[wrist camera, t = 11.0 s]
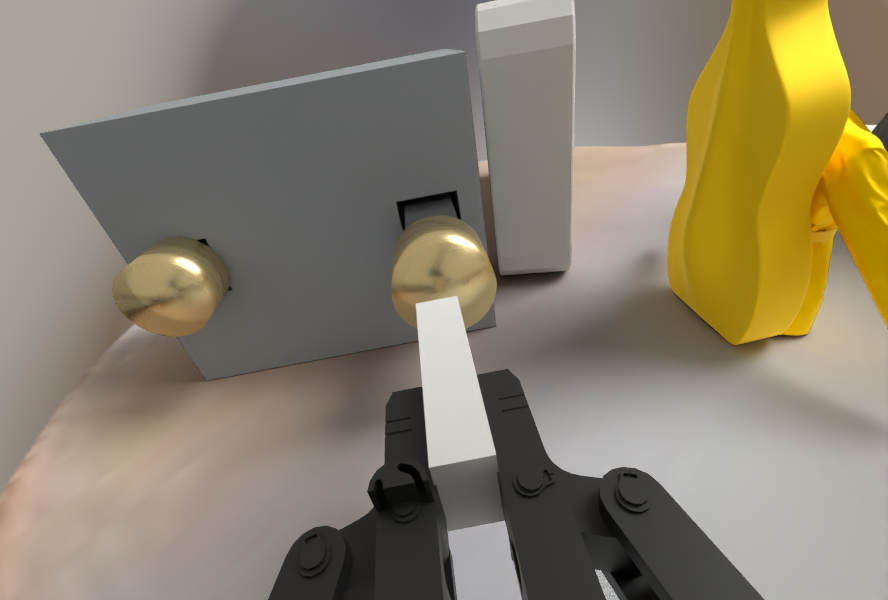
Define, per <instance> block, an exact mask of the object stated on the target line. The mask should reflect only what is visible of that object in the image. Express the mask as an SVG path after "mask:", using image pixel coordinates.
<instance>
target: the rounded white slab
mask: <svg viewBox="0 0 888 600" xmlns="http://www.w3.org/2000/svg"><path fill="white" fill-rule="evenodd" d="M475 25H476V42H477V53H478V65H479V75H480V85H481V96H482V104H483V105H482V106H483V115H484V126H485V136H486V147H487V157H488V167H489V178H490V188H491V198H492V208H493V219H494V229H495V239H496V249H497V259H498V267H499V272H500V275H515V274H528V273H541V272H554V271H567V270H568V269H569V268H570V265H571V257H572V222H573V165H574V109H575V106H574V105H575V53H576V39H575V37H576V36H575V35H576V34H575V0H496V1H491V2H487V3H482V4H478V5H477V6H476V12H475Z"/></svg>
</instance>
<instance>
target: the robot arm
mask: <svg viewBox="0 0 888 600" xmlns="http://www.w3.org/2000/svg"><path fill="white" fill-rule="evenodd" d="M871 133H872V134H873V135H875V136H876V137H877V138H879V139H880V141H881V142H882V143H883V146H884V148H885V150H886V151H887V152H888V113H887V114H886V115H885V116H884V117H883V119H882V120H881V121H880V122H879V123H878V125H877V126H876V127H875V128H874V130H873V131H872V132H871ZM416 314H417V327H418V339H419V351H420V364H421V376H422V387H417V388H412V389H407V390H402V391H397V392H393V393H392V395H391V397H390V399H389V401H388V403H387V405H386V425H385V435H386V437H385V465H383V466H382V467H381V468H379V469H378V470H377V471H376V473H375V474H374V476H373V477H372V479H371V480H370V483H369V487H368V491H367V492H368V494H369V496H370V498H371V501H372V503H373V505H374V508H373V509H372V510H371V511H370V512H369V513H368V514H366V515H365V516H363V517H362V518H360V519H359V520H357V521H355V522H353V523H352V524H350V525H348V526H346V527H344V528H342V529H341V530H339V531H338V530H337V529H335V528H332V527H329V526H321V527H315V528H313V529H311V530H309V531H308V532H306V533H304V534H303V535H302V536H301V537H300V538H299V539H298V540H297V541H296V542H295V543H294V544H293V545H292V547H291V549H290V550H289V552H288V554H287V556H286V558H285V560H284V563H283V565H282V568H281V570H280V572H279V575H278V577H277V580H276V582H275V584H274V587H273V589H272V592H271V594H270V597H269V599H268V600H457V595H456V586H455V577H454V569H453V560H452V555H451V551H450V548H449V542H448V533H447V529H448V531H451V530H457V529H462V528H467V527H472V526H477V525H483V524H488V523H493V522H498V521H503V520H505V522H506V526H507V530H508V535H509V542H510V549H511V556H512V560H513V561H514V565H515V570H516V574H517V578H518V583H519V587H520V592H521V596H522V600H606V599H605V596H604V593H603V591H602V588H601V585H600V583H599V580H598V577H597V575H596V572H595V569H597V570H601V571H602V572H603V574H604V575H605V577H606V579H607V580H608V582H609V583H610V585H611V586H612V588H613V590H614V591H615V593H616V594H617V596H618V598H619V599H620V600H764V599H763V598H762V596H761V595H760V594H759V593H758V592H757V591H756V590H755V589H754V588H753V587H752V585H751V584H750V583H749V582H748V581H747V580H746V579H745V578H744V577H743V575H742V574H741V573H740V572H739V571H738V570H737V569H736V568H735V567H734V565H733V564H732V563H731V562H730V561H729V560H728V559H727V558H726V557H725V556H724V554H723V553H722V552H721V551H720V550H719V549H718V548H717V547H716V546H715V544H714V543H713V542H712V541H711V540H710V539H709V538H708V537H707V536H706V534H705V533H704V532H703V531H702V530H701V529H700V528H699V527H698V526H697V524H696V523H695V522H694V521H693V520H692V519H691V518H690V517H689V516H688V515H687V513H686V512H685V511H684V510H683V509H682V508H681V507H680V506H679V505H678V503H677V502H676V501H675V500H674V499H673V498H672V497H671V496H670V495H669V493H668V492H667V491H666V490H665V489H664V488H663V487H662V486H661V485H660V484H659V483H658V482H657V481H656V480H655V479H654V478H652V477H651V476H650V475H649V474H647V473H645V472H642V471H640V470H638V469H636V468H627V467H621V468H617V469H612V470H611V471H609V472H608V473H607V474H605V475H604V476H603V478H595V477H587V476H579V475H575V474H571V473H568V472H566V471H564V470H562V469H561V468H559V467H558V466H556V465H555V464H554V463H553V462H552V461H551V460H550V458H549V457H548V455H547V453H546V451H545V449H544V446H543V444H542V441H541V438H540V435H539V433H538V430H537V427H536V425H535V422H534V419H533V416H532V414H531V411H530V408H529V406H528V403H527V400H526V397H525V396H524V392H523V389H522V387H521V384H520V381H519V379H518V378H517V377H516V376H514V375H513V374H512V373H511V372H510V371H509V370H508V369H505V370H500V371H495V372H490V373H485V374H479V375H477V374H476V370H475V366H474V362H473V358H472V354H471V350H470V346H469V342H468V338H467V334H466V330H465V326H464V322H463V318H462V314H461V310H460V306H459V301H458V297H457V296H453V297H448V298H443V299H437V300H432V301H427V302H422V303H417V304H416Z"/></svg>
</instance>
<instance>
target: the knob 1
mask: <svg viewBox="0 0 888 600" xmlns="http://www.w3.org/2000/svg"><path fill="white" fill-rule="evenodd" d="M230 282H231V278H230V273H229V269H228V267H227V265H226V263H225V262H224V260H223V259H222V258H221V257H220V256H219V255H218V254H217V253H216V252H215V251H214V250H213V249H211V248H210V246H209V245H208V243H207V241H206V239H205V238H204V239H199V240H193V239H190V238H185V237H168V238H164V239H161V240H159V241H157V242H156V243H154V244H153V245H152V246H150V247H149V248H148V249H147V250H146V251H144V252H143V253H142V254H141V255H140V256H138V257H137V258H136V259H135V260H134V261H132V262H131V263H130V264H129V265H128V266H126V267H125V268H124V269H123V270H122V271H120V273H118V275H117V276H116V277H115V279H114V282H113V288H112V292H113V297H114V300H115V302H116V304H117V306H118V308H119V309H120V310H121V312H122V313H123V314H124V315H125V316H126V317H127V318H128V319H129V320H130V321H132V322H133V323H134V324H136V325H138V326H139V327H141V328H143V329H145V330H147V331H150V332H153V333H155V334H159V335H164V336H185V335H189V334H192V333H195V332H197V331H198V330H200V329H201V328H202V327H203V326H204V325H205V324H206V323H207V321H208V320H209V318H210V317H211V315H212V314H213V313H214V311H215V310H216V308H217V307H218V305H219V304H220V302H221V301H222V299H223V298H224V296H225V295H226V293H227V292H228V290H229V287H230Z"/></svg>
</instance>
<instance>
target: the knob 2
mask: <svg viewBox="0 0 888 600" xmlns="http://www.w3.org/2000/svg"><path fill="white" fill-rule="evenodd" d="M404 207H405V230H404V231H403V232H402V233H401V234H400V236H399V237H398V239H397V241H396V243H395V245H394V248H393V253H392V283H391V294H392V301H393V304H394V307H395V309H396V311H397V312H398V314H399V315H400V316H401V318H402V319H403V320H404V321H405V322H407V323H408V324H409V325H411V326H412V327H414V328H416V329H418V327H417V314H416V304H417V303H422V302H427V301H432V300H437V299H443V298H448V297H453V296H457V297H458V301H459V306H460V310H461V314H462V318H463V322H464V326H465V329H467V328H469V327H471V326H472V325H474V324H475V323H477V322H478V321H479V320H481V319H482V318H483V317H484V316H485V315H486V313H487V312H488V311H489V309H490V308H491V306H492V304H493V302H494V299H495V296H496V290H497V281H496V276H495V273H494V270H493V268H492V266H491V263H490V261H489V259H488V256H487V254H486V251H485V249H484V247H483V244H482V242H481V240H480V238H479V236H478V234H477V233H476V232H475V230H474V229H473V228H472V227H471V226H469V225H468V224H467V223H465V222H463V221H462V220H459V219H458V218H457V215H456V212H455V209H454V206H453V203H452V200H451V198H450V195H449V192H445V193H440V194H435V195H430V196H424V197H419V198H414V199H409V200H404Z"/></svg>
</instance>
